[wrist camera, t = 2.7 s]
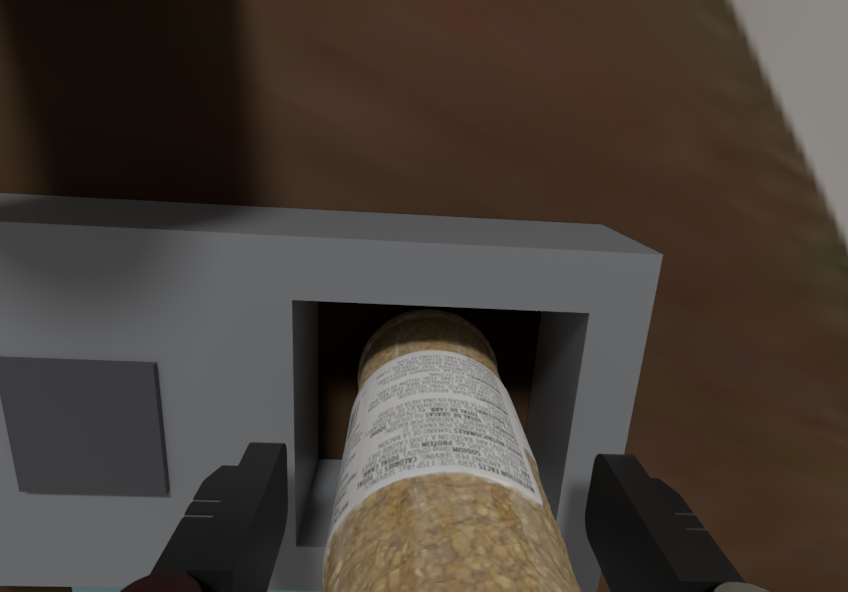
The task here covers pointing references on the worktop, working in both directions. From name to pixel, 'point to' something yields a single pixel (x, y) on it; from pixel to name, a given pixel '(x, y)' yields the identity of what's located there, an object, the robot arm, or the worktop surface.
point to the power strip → (266, 362)
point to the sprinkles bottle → (439, 473)
